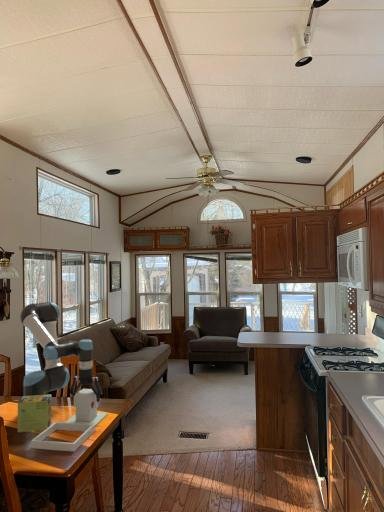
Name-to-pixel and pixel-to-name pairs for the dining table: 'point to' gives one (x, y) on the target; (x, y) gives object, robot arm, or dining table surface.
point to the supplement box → (85, 405)
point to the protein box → (34, 413)
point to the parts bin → (62, 446)
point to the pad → (95, 421)
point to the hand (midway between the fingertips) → (86, 406)
